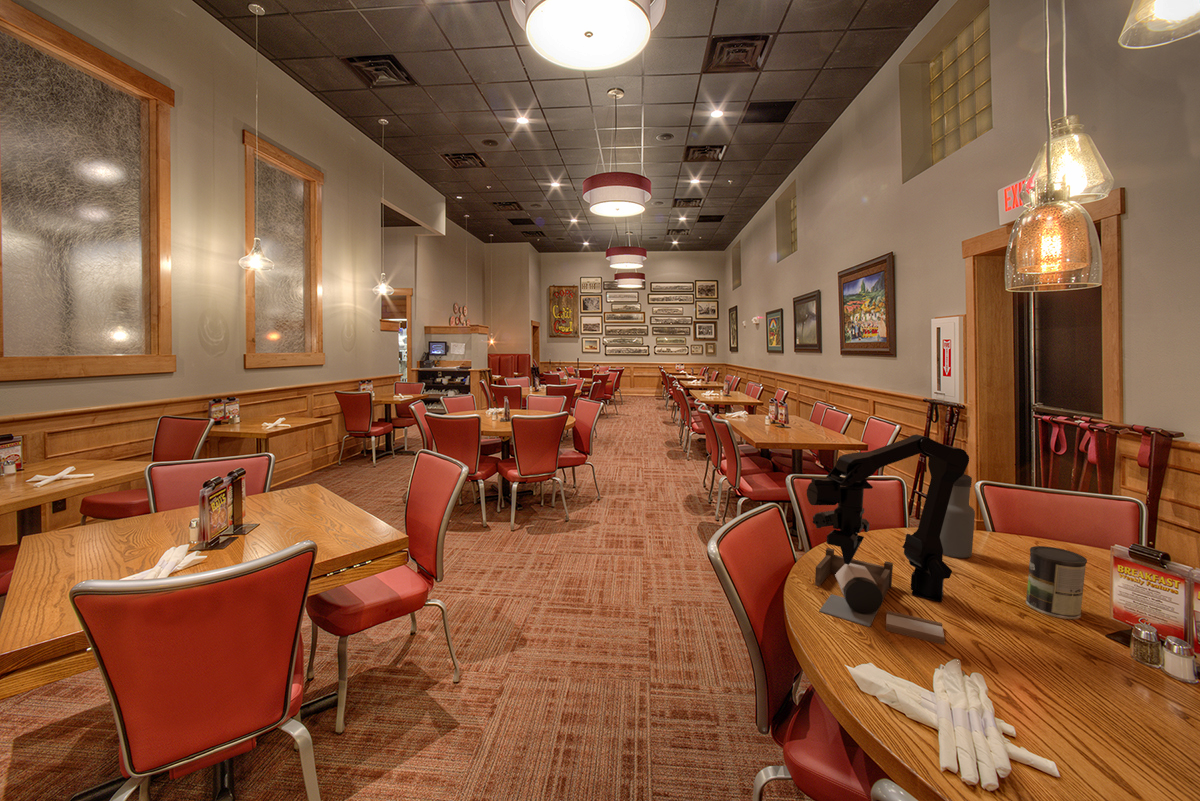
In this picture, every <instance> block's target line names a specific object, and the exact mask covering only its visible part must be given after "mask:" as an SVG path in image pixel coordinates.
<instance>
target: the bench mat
mask: <svg viewBox="0 0 1200 801" xmlns="http://www.w3.org/2000/svg"><path fill="white" fill-rule="evenodd" d="M879 609H880V608H879ZM879 609H878V610H877V611H876V612H874V613H871V614H861V613H858V612H856V611H854V610H853V609H852V608H851V607H850V606H849V605H848V603H847V601H846V599H845V597H844V596H840V595H837V594H836V595H835V594H830V595H829V597H827V599H826V600H825V602H824V604H823V605H822V606H821V608H820V609H819V613H822V614H826V615H829V616H832V617H836V618H839V619H842V620H845V621H848V622H851V623H855V624H858V625H861V626H865V627H868V628H871V626H872V624H873V621H874V619H875V617H876V616H877V613H878V611H879Z"/></svg>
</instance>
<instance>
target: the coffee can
mask: <svg viewBox="0 0 1200 801" xmlns="http://www.w3.org/2000/svg"><path fill="white" fill-rule="evenodd" d="M1029 552H1030V554H1029V564H1028V576H1027V577H1028V578H1027V587H1026V588H1027V590H1026V599H1025V603H1026V606H1028V607H1029V608H1031V609H1032V610H1034V611H1036V612H1039V613H1041V614H1043V615H1047V616H1049V617H1055V618H1058V619H1065V620H1078V619H1080V618H1081V617H1082V607H1083V606H1082V604H1083V596H1084V588H1085V587H1084V586H1085V575H1086V566H1087V562H1088V559H1087V558H1086V557H1084V556H1083V555H1081V554H1079V553H1076V552H1074V551H1070V550H1069V549H1068V550H1067V549H1063V548H1058V547H1053V546H1043V545H1035V546H1031V547H1030V548H1029Z"/></svg>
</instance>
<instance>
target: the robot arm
mask: <svg viewBox="0 0 1200 801" xmlns="http://www.w3.org/2000/svg"><path fill="white" fill-rule="evenodd" d="M919 454H921V455H923V456H925V457H926V458H928V461H927V466H928V469H929V473H930V482H929V484H928V489H927V492H926V498H925V501H924V505H923V508H922V512H921V516H920V519H919V524H918V527H917V529H916V530H915V532H913V533H912V534H911V533H906V535H905V540H904V543H903V545H902V546H901V547H902V548H903V554H904V555H905V557H906V559H907V560H908V562H909V565H910V566H911V567H913V568H914V570H913V571H912V573H911V576H910V590H911V595H912V596H914V597H920V598H923V599H928V600H931V601H935V602H938V603H942V601H943V598H944V580H947V579H950V577H951V576H952V573H953V569H951V568H950V567H949V565H947V564H946V563H945V561H943V558H944V557H943V556H944V555H943V547H942V543H941V540H940V534H941V530H942V526H943V523H944V519H945V515H946V511H947V508H948V504H949V500H950V496H951V493H952V489H953V485H954V483H955V482H956V481H957V480H958V479H959V478H960V477H961V476H962V475H963V474H964V472H965V470H967V467H968V466H969V463H970V456H969V454H968V453H967V452H966V451H965V450H964V449H963V448H959V447H956V446H955V447H954V446H952V445H947V444H943V443H940V442H938V441H936V440H934V439H932V438H930V437H929V436H925V435H920V434H917V433H916V434H912V435H910V436H909V437H907V438H904V439H901V440H897V441H895V442H892V443H890V444H887V445H885V446H881V447H879V448H876V449H873V450H870V451H863V452H851V453H846V454H842V455H840V456H839V457H838V458H837V461H836V464H835V466H834V467H833V468H832V469H831V470H830V471H829V473H828V474H827V475H826V477H825V478H818V477H812V478H811V480H810V481H811V482H809V484H808V485H807V488H806V498H807V501H808V503H809V505H811V506H836V505H837V507H836V508H834V510H828V511H826V510H825V511H820V512H816V513H815V514H814V515H812V523H813V525H815V527H816V529H821V528H826V527H832V529H833V530H832V531H830V532H829V533H828V534H827V535H826V544H827V545H830V546H834V547H838V548H840V551H841V554H842V555H841V556H842V557H843V559H844V563H845V564H848V565H849V564H850V562H851V561H852V559H854V557H855V555H856V553H857V551H858V550H859V547H860V546H861V544H862V542H863V540H864V538H865V537H864V536H863V535H859V534H860V533H861V532H862V531H864V533H868V532H869V531H870V522H869V521H868V520H867V519H866V518H863V515H864V513H865V508H864V493H865V492H864V491H865V490H871V489H873V488H874V486H873V485H872V484H870V483H869V482H868V480H867V478H870V477H871V476H873V475H875V473H877V471H878V470H879V469H881V468H883V467H886V466H888V465H892V464H894V463H897V462H900V461H902V460H906V459H909V458H911V457H914V456H916V455H919ZM965 473H966V472H965ZM842 476H843V477H842Z"/></svg>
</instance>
